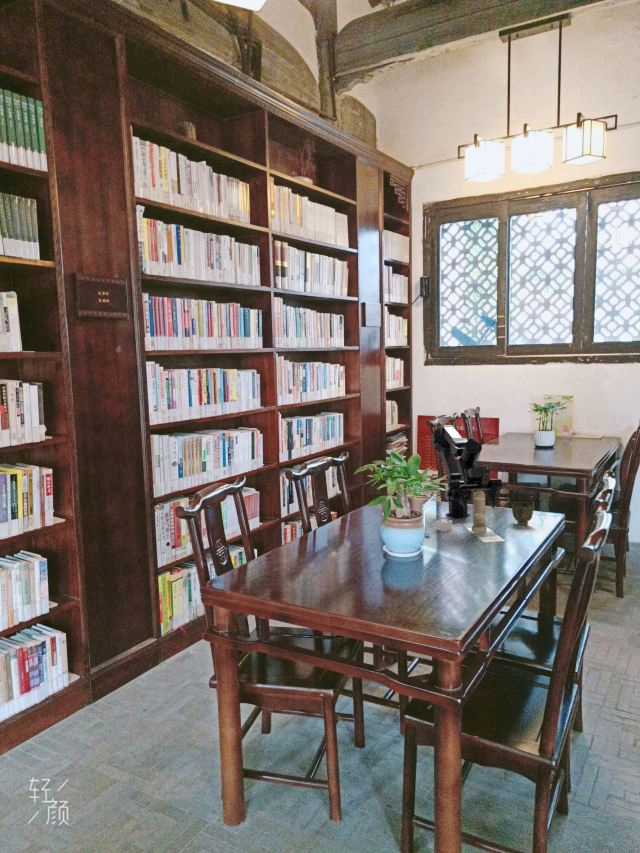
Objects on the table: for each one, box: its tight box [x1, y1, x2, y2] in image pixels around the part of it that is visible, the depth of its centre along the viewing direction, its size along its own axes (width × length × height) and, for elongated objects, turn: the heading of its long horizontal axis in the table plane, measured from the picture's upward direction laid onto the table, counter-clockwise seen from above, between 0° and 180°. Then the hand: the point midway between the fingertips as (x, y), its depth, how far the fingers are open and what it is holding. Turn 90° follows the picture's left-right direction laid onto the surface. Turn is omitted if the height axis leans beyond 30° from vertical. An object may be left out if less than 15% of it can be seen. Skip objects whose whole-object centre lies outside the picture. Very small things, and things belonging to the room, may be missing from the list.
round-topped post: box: [472, 490, 488, 532], centre depth 205 cm, size 5×5×14 cm
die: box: [435, 518, 453, 532], centre depth 208 cm, size 4×4×4 cm
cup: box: [511, 500, 535, 527], centre depth 212 cm, size 8×7×8 cm
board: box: [461, 522, 506, 543], centre depth 203 cm, size 22×7×1 cm, turn 5°
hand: (480, 508), depth 204 cm, fingers open, 9 cm apart
